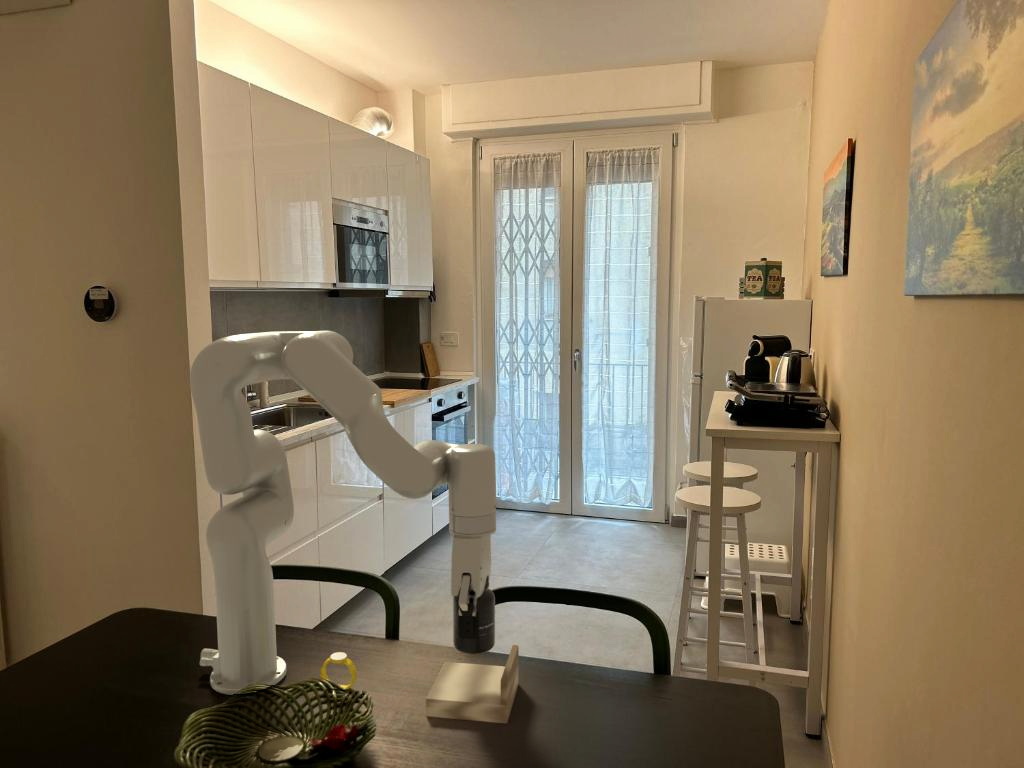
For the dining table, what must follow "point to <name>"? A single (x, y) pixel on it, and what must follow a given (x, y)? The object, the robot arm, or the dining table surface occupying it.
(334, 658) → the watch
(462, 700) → the birch stand
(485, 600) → the supplement bottle
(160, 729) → the dining table surface
